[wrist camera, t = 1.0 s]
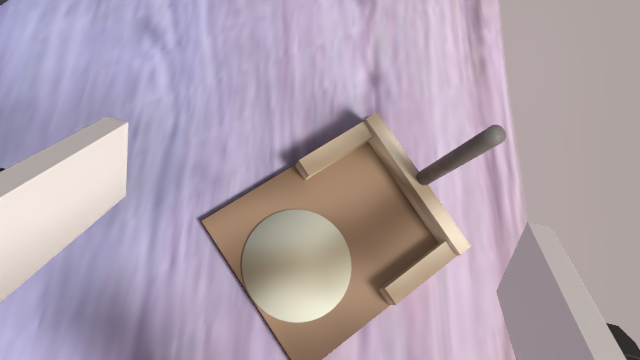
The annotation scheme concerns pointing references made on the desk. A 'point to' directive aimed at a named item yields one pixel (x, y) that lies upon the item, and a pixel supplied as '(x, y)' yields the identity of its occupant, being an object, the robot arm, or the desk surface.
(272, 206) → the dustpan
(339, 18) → the desk surface
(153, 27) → the desk surface
